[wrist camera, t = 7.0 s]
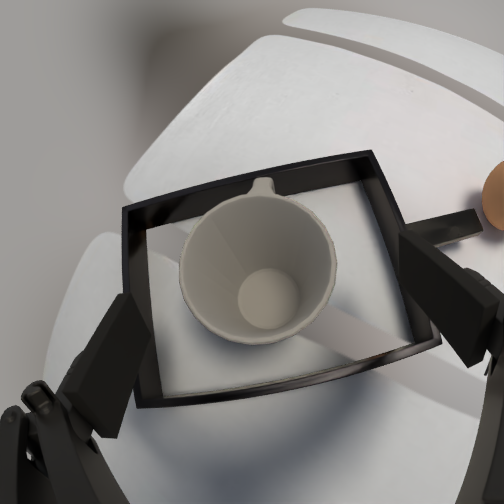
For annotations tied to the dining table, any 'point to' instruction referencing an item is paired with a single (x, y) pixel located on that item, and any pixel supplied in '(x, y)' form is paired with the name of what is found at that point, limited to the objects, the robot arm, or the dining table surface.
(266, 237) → the cup
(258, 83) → the dining table surface
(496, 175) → the egg
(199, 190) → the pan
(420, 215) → the dining table surface
